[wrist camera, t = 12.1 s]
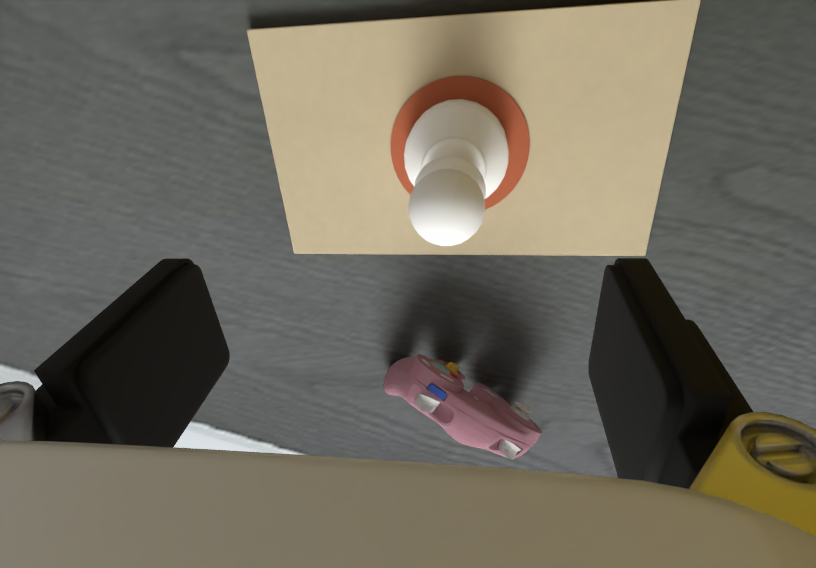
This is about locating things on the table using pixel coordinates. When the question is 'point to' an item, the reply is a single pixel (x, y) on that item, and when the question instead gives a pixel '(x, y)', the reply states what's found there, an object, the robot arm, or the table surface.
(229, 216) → the table surface
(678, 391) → the robot arm
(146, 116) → the table surface
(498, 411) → the video game controller
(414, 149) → the chess pawn
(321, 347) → the table surface
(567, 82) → the mat
